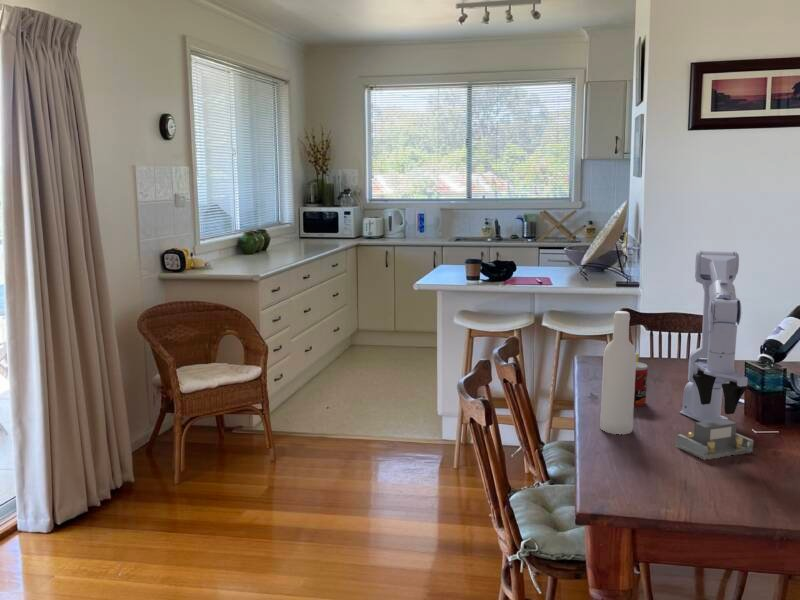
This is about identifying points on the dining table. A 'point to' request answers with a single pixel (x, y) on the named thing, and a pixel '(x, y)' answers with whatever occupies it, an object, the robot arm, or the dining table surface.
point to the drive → (716, 432)
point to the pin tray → (719, 452)
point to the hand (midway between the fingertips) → (717, 408)
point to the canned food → (640, 384)
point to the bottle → (618, 379)
